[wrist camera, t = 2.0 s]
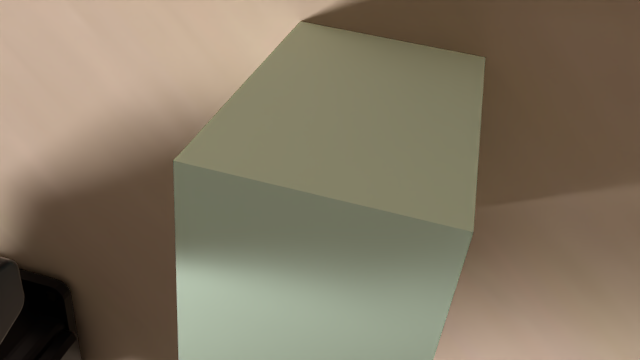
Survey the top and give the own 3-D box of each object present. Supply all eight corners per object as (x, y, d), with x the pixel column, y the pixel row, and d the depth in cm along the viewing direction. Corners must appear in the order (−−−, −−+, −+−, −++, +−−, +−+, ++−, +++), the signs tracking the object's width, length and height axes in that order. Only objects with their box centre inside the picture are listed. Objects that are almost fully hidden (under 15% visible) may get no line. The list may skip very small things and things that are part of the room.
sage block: (285, 174, 17) (178, 360, 12) (300, 21, 15) (173, 161, 9) (442, 211, 17) (411, 427, 11) (485, 56, 14) (473, 231, 8)
